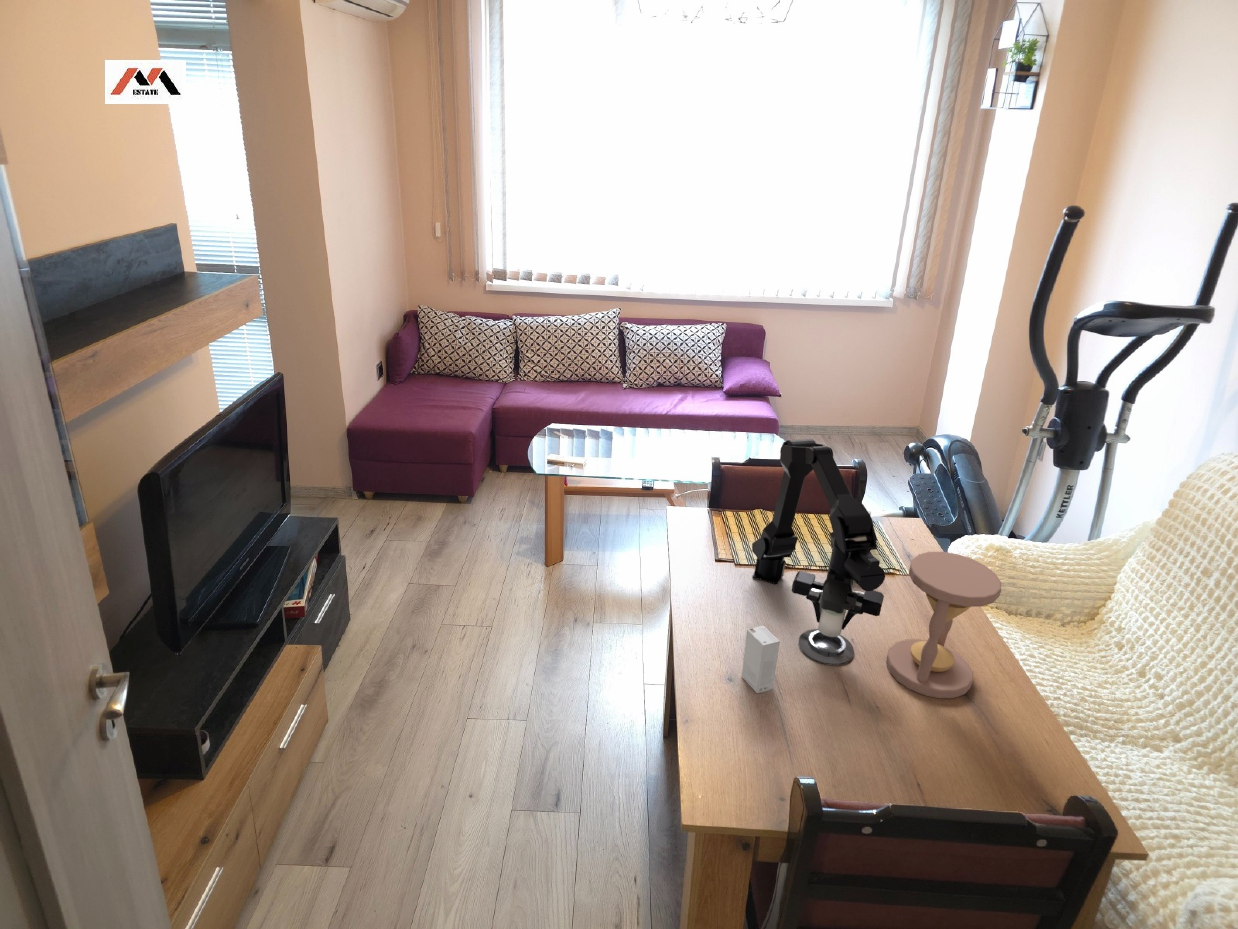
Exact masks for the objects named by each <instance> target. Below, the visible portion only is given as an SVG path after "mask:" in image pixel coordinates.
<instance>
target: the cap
mask: <svg viewBox="0 0 1238 929" xmlns="http://www.w3.org/2000/svg"><path fill="white" fill-rule="evenodd" d="M846 614H847V610H845V609H844V612H843V613H840V614H839V613H836V612H834V611H830V610H825V609H822V610H821V615H820V620H819V623H818V625H817V629H818V630H819V631H820V633H822V634H823V635H825V636H829V637H837V636H839V635H841V634H842V631H843V630H842V625H843V622H844V619H845V616H846Z"/></svg>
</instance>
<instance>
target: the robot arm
mask: <svg viewBox="0 0 1238 929" xmlns="http://www.w3.org/2000/svg"><path fill="white" fill-rule="evenodd" d="M779 452H780V453H779V454H780V456H779V461H780V464H781V466H782V469H783V475H782V480H781V483H780V488H779V492H778V496H777V500H776V504H775V506H774V507H775V508H774V512H773V516H772V519H771V521H770V522H769V523H768V524H767V525H766V526H764V527H763V530H762V532H761V535H760V537H759V538H758V539H756V540H755V541H753V542H752V544H751V551H752V553H753V554H754V555H755V557H756V562H755V565H754V566H755V568H754V571H753V574H752V576H751V577H752V578H753V579H757V580H760V581H764V582H767V583H771V584H774V585H778V584H779V582H780V580H782V579H783V576H784V574H785V567H786V560H785V558H791V557H792V554H793V553H794V551H795V550H796V547H797V543H798V541H799V538H798V537H797V535H796V533H795V531H794V528H793V524H794V520H795V517H796V513H797V509H798V506H799V502H800V497H801V495H802V490H803V486H804V482H805V479H806V477H807V476H808V475H809V474H810V473H811V472H812V471H813V472H814V475H815V477H816V479H817V481H818V483H819V485H820V488H821V489H822V492H823V494H824V495H825V498H826V500H827V503H828V504H829V508H830V513H829V517H828V518H829V522H830V524H831V529H832V532H830V533H829V536H830V537H832V538H833V539H834V544H833V549H832V548H831V549H832V550H831V554H830V559H829V564H828V569H827V573H826V579H825V580H824V582H819V581H816V574H814V573H810V572H806V571H803V570H798V571H797V572H796V575H795V576H794V579H793V581H792V586H791V591H790V592H792V594H796V595H799V596H803V597H805V599H806V600H809V601H810V602H811V603H812V605H813V608H814V613H815V618H816V622H817V623H818V624H819V620H820V615H821V610H822V609H825V610H830V611H834V612H836V613H839V614H840V613H843V612H844V609H845V610H846V613H845V617H844V622H843V625H842V631H843V630H845V628H846V627H847V626H848V624H849V623H850V621H851V620H852V619H853V618H854V616H856V615H864V614H867V615H871V616H873V617H874V616H875V617H879V616H881V612H882V606H883V603H884V598H885V596H884V593H883V592H881V591H876V590H877V589H878V588H880V587H881V586H882V584H883V583H884V582H885V579H886V575H885V574H886V572H885V570H884V569H883V567H881V566H880V564H881V562H880V560H879V559H878V558H877V557H876V556H874V555H873V554H872V553H871V551H874V550H875V551H876V550H878V544H877V541H878V537H877V534H876V531H875V527H874V521H873V518H872V516H871V515H870V514H869V513H868V511H869V510H867V508H866V507H865V506H864V504H863V503H862V502H860V501H859V500H857V499H856V498H854V496H853V495H852V494H851V491H850V489H849V486H848V485H847V483H846V481H845V478H844V476H843V474H842V473H841V470H840V468H839V466H838V464H837V462H836V461H835V458H834V452H833V448H832V447H831V446H828V445H826V444H823V443H816V441H815V440H814V439H812V438H804V439H787V440H785V441H783V443H782V445H781V447H780V451H779ZM862 537H866V538H867V540H864V541H856V540H855V539H854V538H862ZM855 583H856V584H857V585H858V586H859V587H860V588H861V590H863V591H865V592H863V591H861V590H856V591H854V590H853V588H854V584H855Z"/></svg>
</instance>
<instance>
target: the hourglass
mask: <svg viewBox="0 0 1238 929" xmlns="http://www.w3.org/2000/svg"><path fill="white" fill-rule="evenodd" d="M908 576H909V577H910V579H911V582H912V583H913V584H914V585H915V586H916V587H917V588H918V589H919V590H921V591H922V592H923V593H925V596H926V599H927V600H928V603H929V604H930V607H931V609H932V611H933V614H932V616H931V617H930V621H929V624H928V634H929V635H928V636H929V638H927V639H922V638H921V639H920V638H906V639H905V638H904V639H903V640H899V641H896V642H894V643H893V644H892V645H891V646H890V647H889V648H888V652H887V656H886V662H885V663H886V665H887V668H888V671H889V673H890V674H891V675H892V677H893V678H894V679H895V680H896V681H897V682H898V683H900V684H901V685H902V686H904V687H905V688H907V689H909V690H910V691H913V692H916V693H918V694H921V695H923V696H927V697H930V698H935V699H941V700H942V699H956V698H958V697H961V696H964V695H965V694H967V692H968V691H969V690H970V689H971V688H972V685H973V678H974V677H973V676H974V672H973V669H972V667H971V666H970V664H969V662H968V661H967V660H966V659H965V658H963V656H962V655H961V654H960V653H958V652H956V651H955V650H952V648H950V647H948V646H946V645H945V644H946V640H947V638H948V637H947V636H948V634H949V633H950V631H951V629H952V626H953V622H954V621H953V620H954V619H955V618H956V617H958V616H960V615H962V614H963V613H965V612H967V611H968V610H969V609H970V608H971V607H972V608H973V607H985V606H987V605H992V604H993V603H995V601H997V599H999V598H1000V596H1001V593H1002V581H1001V580H1000V578H999V576H998V575H997V574H996V572H994V571H993V570H992V569H991V568H989V567H988V566H986V565H985V564H983V563H981V562H979V561H977V560H975V559H974V558H970V557H967V556H964V555H962V554H958V553H953V552H946V551H928V552H923V553H919V554H917V555H915V557H913V558H912V559H911V561H910V565H909V570H908Z"/></svg>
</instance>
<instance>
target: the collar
mask: <svg viewBox="0 0 1238 929" xmlns="http://www.w3.org/2000/svg"><path fill="white" fill-rule="evenodd" d="M798 648H799V649H800V651H801V652H802V653H803V654H804V655H805V656H806V657H808V658H809V659H811V660H812V661H814V662H816V663H819V664H823V665H828V666H840V665H844V664H847V663H849V662H850V661H851V660H852V659H853V657H854V653H855V648H854V646H853V644H852V643H851V641H850V640H849V639H847V638H846V637H845V636H843V635H841V634H840V635H839V636H837V637H829V636H825V635H823V634H822V633H820V631H819V630H818V628H815V629H809V630H807V631H804V632H803V633H801V635H800V636H799V638H798Z"/></svg>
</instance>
